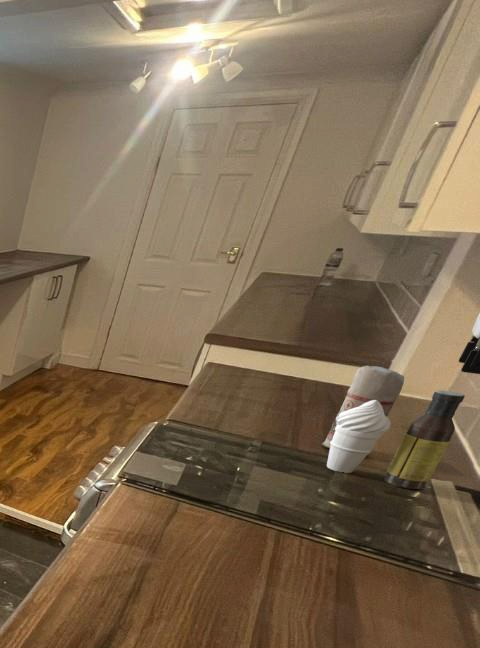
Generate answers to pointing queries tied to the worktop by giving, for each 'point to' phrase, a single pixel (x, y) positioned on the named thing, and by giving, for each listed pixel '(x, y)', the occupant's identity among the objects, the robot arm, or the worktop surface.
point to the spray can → (370, 391)
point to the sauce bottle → (424, 442)
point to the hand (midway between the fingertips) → (471, 368)
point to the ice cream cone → (356, 435)
